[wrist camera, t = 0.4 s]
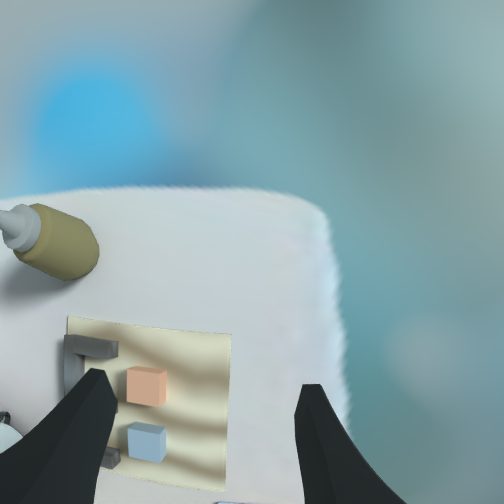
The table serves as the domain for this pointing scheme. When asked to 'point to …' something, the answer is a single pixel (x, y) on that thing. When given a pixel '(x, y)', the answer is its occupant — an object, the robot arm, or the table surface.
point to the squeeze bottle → (50, 240)
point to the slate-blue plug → (147, 442)
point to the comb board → (177, 396)
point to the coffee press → (7, 433)
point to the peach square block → (146, 386)
